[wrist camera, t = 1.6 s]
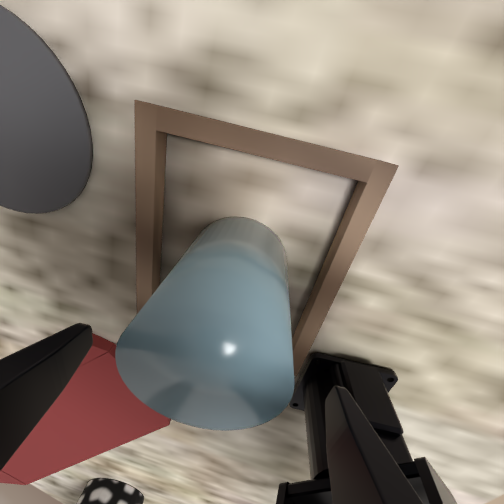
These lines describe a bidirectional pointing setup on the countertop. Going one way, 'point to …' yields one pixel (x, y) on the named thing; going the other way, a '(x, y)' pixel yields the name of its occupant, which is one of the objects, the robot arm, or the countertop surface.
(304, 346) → the brown wooden frame
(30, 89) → the coaster
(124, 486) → the spotted tube
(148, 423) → the carton
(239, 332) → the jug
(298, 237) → the countertop surface
